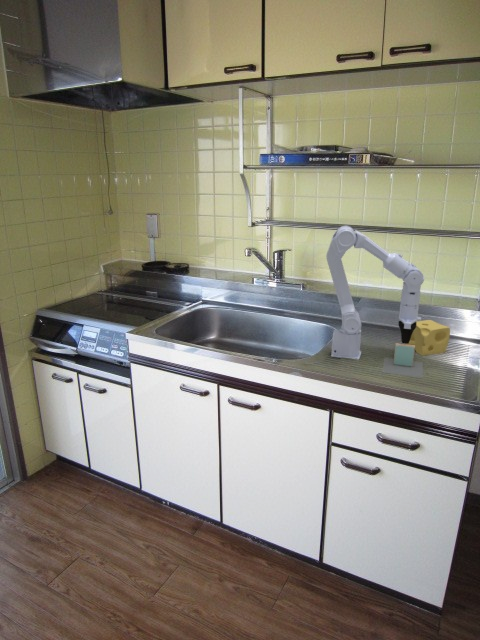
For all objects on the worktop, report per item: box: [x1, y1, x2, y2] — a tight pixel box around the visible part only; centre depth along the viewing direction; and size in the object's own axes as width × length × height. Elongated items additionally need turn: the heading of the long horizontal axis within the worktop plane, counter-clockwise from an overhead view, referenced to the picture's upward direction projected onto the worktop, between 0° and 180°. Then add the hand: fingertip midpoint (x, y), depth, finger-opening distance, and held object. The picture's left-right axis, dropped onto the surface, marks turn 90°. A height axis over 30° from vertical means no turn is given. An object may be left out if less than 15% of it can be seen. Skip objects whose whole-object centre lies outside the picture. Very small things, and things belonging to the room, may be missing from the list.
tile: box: [393, 342, 416, 367], centre depth 149 cm, size 6×1×7 cm, turn 70°
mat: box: [381, 357, 424, 379], centre depth 148 cm, size 12×13×1 cm
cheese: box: [407, 319, 451, 357], centre depth 162 cm, size 10×11×10 cm
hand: (405, 342), depth 155 cm, fingers closed
